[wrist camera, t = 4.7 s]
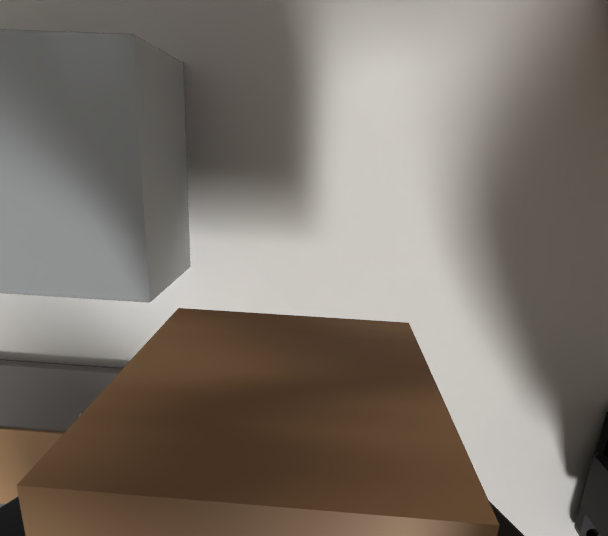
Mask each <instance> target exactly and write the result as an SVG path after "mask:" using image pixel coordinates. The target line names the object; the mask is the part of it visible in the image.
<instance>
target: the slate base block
mask: <svg viewBox="0 0 608 536" xmlns="http://www.w3.org/2000/svg"><path fill="white" fill-rule="evenodd" d="M189 267H190V242H189V212H188V181H187V151H186V121H185V90H184V63H183V62H181V61H179V60H178V59H176V58H174V57H172V56H171V55H169V54H167V53H165V52H163V51H162V50H160V49H158V48H156V47H155V46H153V45H151V44H149V43H148V42H146V41H144V40H142V39H140V38H139V37H137V36H135V35H133V34H113V33H86V32H59V31H31V30H4V29H0V293H7V294H23V295H39V296H55V297H71V298H86V299H102V300H118V301H134V302H151V301H152V300H153V299H154V298H155V297H157V296H158V295H159V294H160V293H161V292H162V291H163V290H165V289H166V288H167V287H168V286H169V285H170V284H171V283H172V282H174V281H175V280H176V279H177V278H178V277H179V276H180V275H181V274H183V273H184V272H185V271H186V270H187V269H188V268H189Z"/></svg>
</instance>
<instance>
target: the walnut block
mask: <svg viewBox="0 0 608 536" xmlns="http://www.w3.org/2000/svg"><path fill="white" fill-rule="evenodd" d="M16 486H17V492H18V497H19V503H20V508H21V513H22V519H23V524H24V530H25V535H26V536H497V534H498V530H499V523H498V521H497V519H496V516H495V514H494V512H493V510H492V507H491V505H490V503H489V501H488V499H487V496H486V494H485V492H484V490H483V487H482V485H481V483H480V481H479V479H478V476H477V474H476V472H475V470H474V467H473V465H472V463H471V461H470V458H469V456H468V454H467V452H466V450H465V447H464V445H463V443H462V441H461V438H460V436H459V434H458V432H457V430H456V427H455V425H454V423H453V421H452V418H451V416H450V414H449V412H448V409H447V407H446V405H445V403H444V401H443V398H442V396H441V394H440V392H439V389H438V387H437V385H436V383H435V381H434V378H433V376H432V374H431V372H430V369H429V367H428V365H427V363H426V360H425V358H424V356H423V354H422V352H421V349H420V347H419V345H418V343H417V340H416V338H415V336H414V334H413V332H412V329H411V327H410V325H409V323H402V322H387V321H371V320H355V319H340V318H324V317H308V316H293V315H277V314H261V313H246V312H230V311H214V310H199V309H183V308H178V309H177V310H176V312H175V313H174V314H173V315H172V316H171V317H170V318H169V319H168V320H167V321H166V322H165V324H164V325H163V326H162V327H161V328H160V329H159V330H158V331H157V332H156V333H155V334H154V336H153V337H152V338H151V339H150V340H149V341H148V342H147V343H146V344H145V345H144V346H143V348H142V349H141V350H140V351H139V352H138V353H137V354H136V355H135V356H134V357H133V358H132V360H131V361H130V362H129V363H128V364H127V365H126V366H125V367H124V368H123V369H122V370H121V372H120V373H119V374H118V375H117V376H116V377H115V378H114V379H113V380H112V381H111V383H110V384H109V385H108V386H107V387H106V388H105V389H104V390H103V391H102V392H101V393H100V395H99V396H98V397H97V398H96V399H95V400H94V401H93V402H92V403H91V404H90V405H89V407H88V408H87V409H86V410H85V411H84V412H83V413H82V414H81V415H80V416H79V417H78V419H77V420H76V421H75V422H74V423H73V424H72V425H71V426H70V427H69V428H68V429H67V431H66V432H65V433H64V434H63V435H62V436H61V437H60V438H59V439H58V440H57V441H56V443H55V444H54V445H53V446H52V447H51V448H50V449H49V450H48V451H47V452H46V454H45V455H44V456H43V457H42V458H41V459H40V460H39V461H38V462H37V463H36V464H35V466H34V467H33V468H32V469H31V470H30V471H29V472H28V473H27V474H26V475H25V476H24V478H23V479H22V480H21V481H20V482H19V483H18V484H17V485H16Z"/></svg>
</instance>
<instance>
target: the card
mask: <svg viewBox="0 0 608 536" xmlns="http://www.w3.org/2000/svg"><path fill="white" fill-rule="evenodd" d="M121 370H122V368H108V367H94V366H80V365H66V364H52V363H38V362H24V361H11V360H0V507H1V506H3V505H5V504H6V503H8V502H9V501H11V500H13V499H14V498H16V497H18V492H17V486H16V485H17V484H18V483H19V482H20V481H21V480H22V479H23V478H24V476H25V475H26V474H27V473H28V472H29V471H30V470H31V469H32V468H33V467H34V466H35V464H36V463H37V462H38V461H39V460H40V459H41V458H42V457H43V456H44V455H45V454H46V452H47V451H48V450H49V449H50V448H51V447H52V446H53V445H54V444H55V443H56V441H57V440H58V439H59V438H60V437H61V436H62V435H63V434H64V433H65V432H66V431H67V429H68V428H69V427H70V426H71V425H72V424H73V423H74V422H75V421H76V420H77V419H78V417H79V416H80V415H81V414H82V413H83V412H84V411H85V410H86V409H87V408H88V407H89V405H90V404H91V403H92V402H93V401H94V400H95V399H96V398H97V397H98V396H99V395H100V393H101V392H102V391H103V390H104V389H105V388H106V387H107V386H108V385H109V384H110V383H111V381H112V380H113V379H114V378H115V377H116V376H117V375H118V374H119V373H120V372H121Z"/></svg>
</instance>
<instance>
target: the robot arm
mask: <svg viewBox="0 0 608 536" xmlns="http://www.w3.org/2000/svg"><path fill="white" fill-rule="evenodd" d="M488 501H489V500H488ZM489 503H490V505H491V507H492V510H493V512H494V514H495V516H496V519H497V521H498V523H499V530H498V534H497V536H524V535H523V534H522V533H521V532H520V531H519V530H518V529H517V528H516V527H515V526H514V525H513V524H512V523H511V522H510V521H509V520H508V519H507V518H506V517H505V516H504V515H503V514H502V513H501V512H500V511H499V510H498V509H497V508H496V507H495V506H494V505H493V504H492V503H491V502H490V501H489ZM575 529H576V531H577V533H578V534H579V536H608V411H607V414H606V417H605V421H604V424H603V428H602V431H601V435H600V438H599V442H598V445H597V449H596V452H595V455H594V458H593V461H592V465H591V468H590V472H589V475H588V479H587V482H586V486H585V489H584V493H583V496H582V499H581V503H580V507H579V511H578V514H577V518H576V521H575ZM0 536H26V535H25V530H24V524H23V519H22V513H21V508H20V503H19V497H16V498H14V499H13V500H11V501H9V502H8V503H6V504H5V505H3V506H1V507H0Z"/></svg>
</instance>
